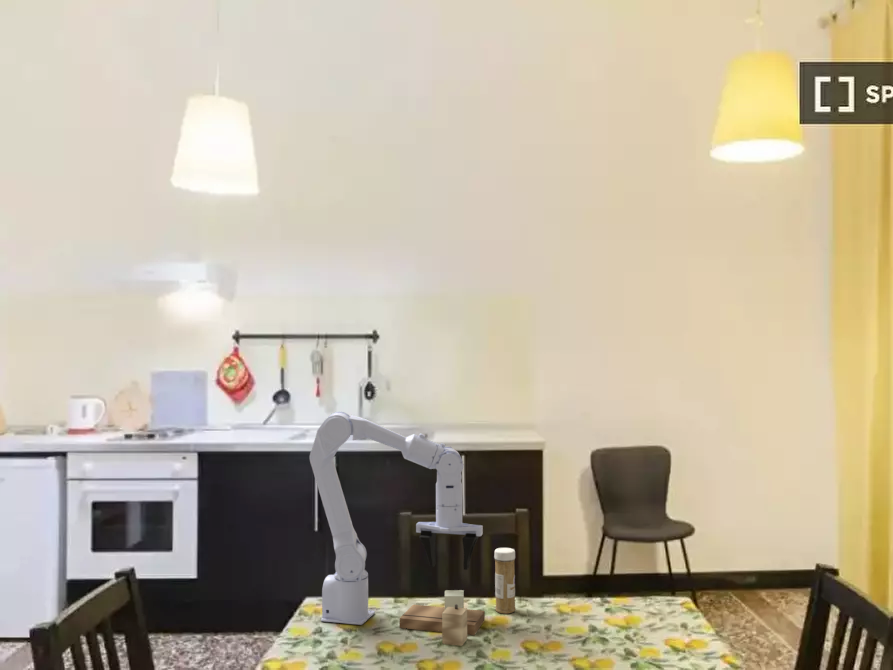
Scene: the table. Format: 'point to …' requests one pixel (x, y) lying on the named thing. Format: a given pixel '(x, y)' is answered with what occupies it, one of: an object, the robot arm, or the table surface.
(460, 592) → the offcut block
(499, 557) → the sprinkles bottle
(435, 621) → the plank
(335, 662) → the table surface
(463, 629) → the block
